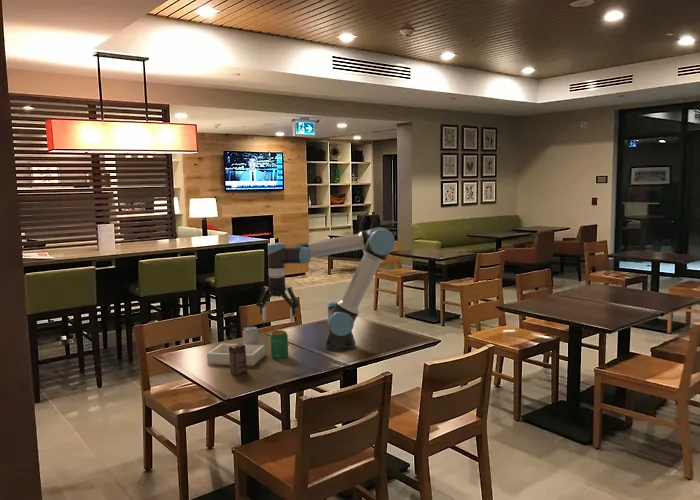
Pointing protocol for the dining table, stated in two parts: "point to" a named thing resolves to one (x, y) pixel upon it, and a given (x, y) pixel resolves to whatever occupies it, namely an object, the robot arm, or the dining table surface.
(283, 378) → the dining table surface
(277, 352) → the beverage can
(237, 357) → the box
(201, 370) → the dining table surface
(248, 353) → the bus tub
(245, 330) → the can
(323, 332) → the dining table surface
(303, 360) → the dining table surface
